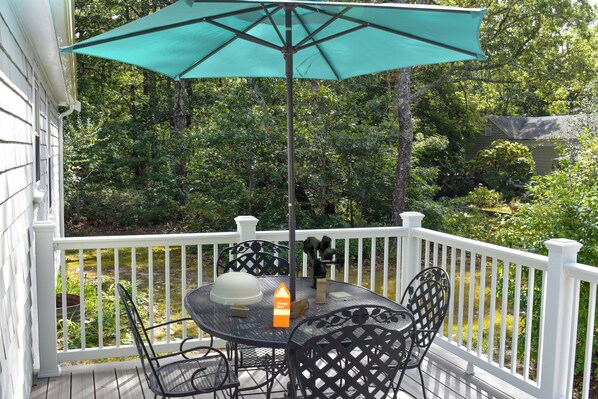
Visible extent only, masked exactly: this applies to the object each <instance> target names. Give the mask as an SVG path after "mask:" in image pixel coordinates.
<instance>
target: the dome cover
mask: <svg viewBox="0 0 598 399" xmlns="http://www.w3.org/2000/svg"><path fill="white" fill-rule="evenodd" d="M263 298H264V294H263V292H262V290H261V285H260V282H259V280H258V279H257V277H255V275H253V274H250V273H247V272H242V271H232V272H226V273H222V274H220V275H219V276H217V278H216V279H215V280H214V282H213V285H212V289H211V290H210V293H209V300H210V301H212V302H214V303H216V304H220V305H223V306H227V305H228V306H234V304H235V303H238V305H237V306H239V305H240V304H243V305H245V306H248V305H254V304H257V303H259V302H262V300H263ZM240 306H241V305H240Z"/></svg>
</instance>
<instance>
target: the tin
mask: <svg viewBox="0 0 598 399" xmlns="http://www.w3.org/2000/svg"><path fill="white" fill-rule="evenodd" d="M309 309H310V303H309V301H308V299H306V298H299V299H297V300H293V301H290V315H289V318H293V319H297V318H296V317H298V316H301V315H303V316H305V315H304V314H306V313H308V312H309ZM306 315H307V314H306ZM301 317H302V316H301ZM298 318H299V317H298Z"/></svg>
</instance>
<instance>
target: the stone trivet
mask: <svg viewBox="0 0 598 399" xmlns="http://www.w3.org/2000/svg"><path fill="white" fill-rule="evenodd" d="M328 296H331V297H333V298H336V299H341V298H346V297H352V296H353V295H352V294H350V293H347V292H345V291H337V292H329V293H328Z"/></svg>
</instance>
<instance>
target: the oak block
mask: <svg viewBox="0 0 598 399" xmlns="http://www.w3.org/2000/svg"><path fill="white" fill-rule="evenodd" d="M315 290H316V293H315V304H316V303H325V304H326V302H327V300H326V297H327V279H326V278H323V279H317V289H315Z"/></svg>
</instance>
